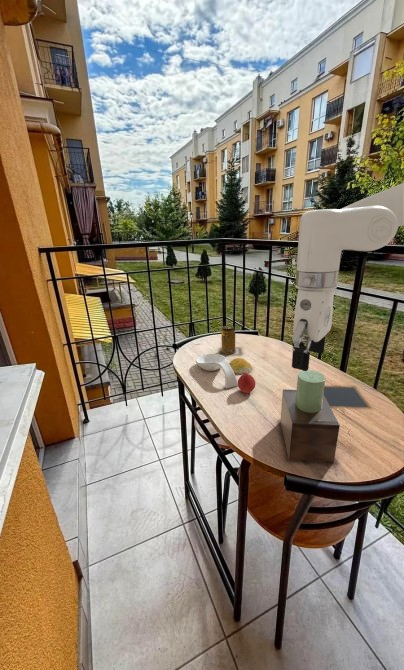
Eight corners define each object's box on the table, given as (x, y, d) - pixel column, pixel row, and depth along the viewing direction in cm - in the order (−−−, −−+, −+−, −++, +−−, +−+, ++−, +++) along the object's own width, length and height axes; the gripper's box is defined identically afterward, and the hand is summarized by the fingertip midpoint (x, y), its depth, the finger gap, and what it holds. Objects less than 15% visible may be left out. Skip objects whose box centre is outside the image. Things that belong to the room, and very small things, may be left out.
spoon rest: (191, 364, 115) (190, 348, 113) (217, 359, 119) (216, 343, 117) (217, 392, 95) (217, 373, 92) (247, 384, 99) (247, 366, 96)
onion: (234, 392, 94) (233, 371, 92) (246, 386, 97) (246, 366, 95) (246, 400, 90) (246, 378, 87) (258, 394, 93) (259, 372, 90)
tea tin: (317, 398, 70) (321, 370, 67) (324, 413, 64) (329, 383, 62) (293, 398, 71) (295, 369, 68) (297, 412, 65) (300, 382, 62)
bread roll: (243, 362, 115) (244, 354, 114) (253, 372, 107) (254, 363, 105) (225, 366, 113) (225, 357, 111) (233, 376, 105) (233, 366, 103)
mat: (353, 389, 93) (353, 387, 93) (367, 408, 83) (368, 407, 83) (319, 388, 95) (319, 386, 95) (328, 407, 85) (329, 405, 84)
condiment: (220, 349, 129) (220, 324, 124) (239, 349, 128) (239, 324, 124) (221, 356, 122) (220, 330, 118) (240, 355, 121) (241, 329, 117)
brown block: (317, 424, 77) (321, 390, 73) (333, 464, 64) (339, 425, 60) (280, 423, 79) (282, 389, 75) (288, 461, 66) (292, 423, 62)
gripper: (322, 289, 45) (312, 382, 51) (348, 274, 58) (338, 350, 64) (278, 285, 50) (274, 371, 56) (311, 272, 62) (305, 343, 68)
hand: (308, 360), depth 60 cm, fingers open, 9 cm apart
